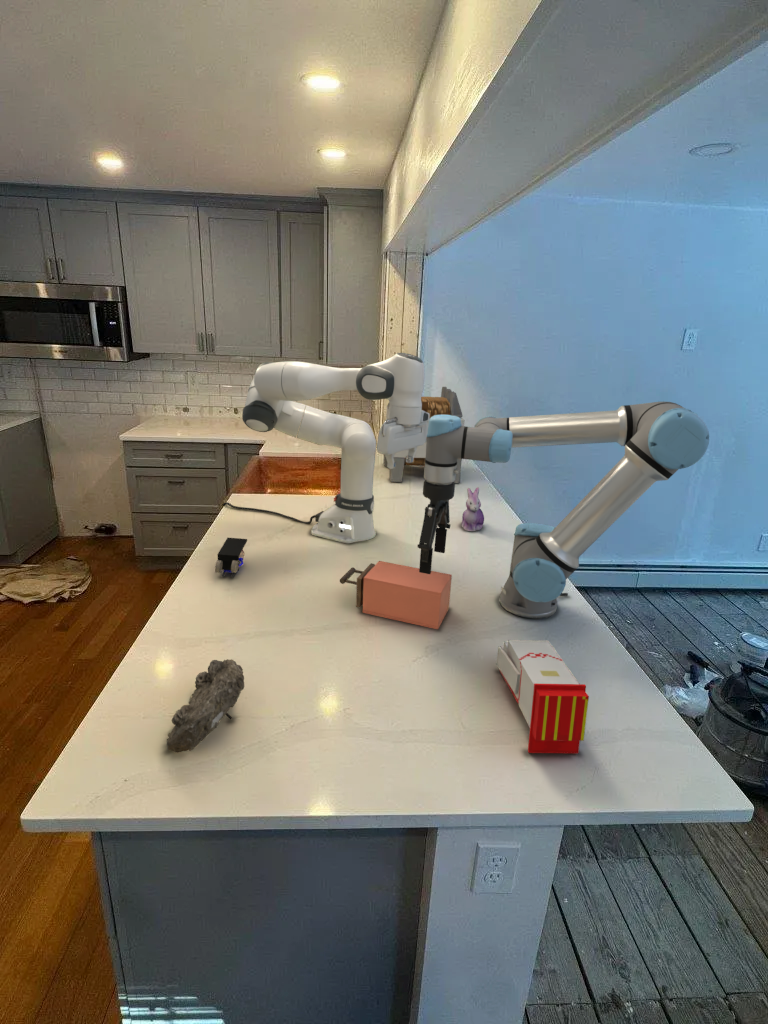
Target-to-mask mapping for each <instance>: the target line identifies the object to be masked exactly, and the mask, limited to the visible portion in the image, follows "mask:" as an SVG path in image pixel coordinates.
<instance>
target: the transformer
mask: <svg viewBox="0 0 768 1024" xmlns="http://www.w3.org/2000/svg"><path fill="white" fill-rule="evenodd" d="M440 393H441V394H440V396H421V402H422V410H423V411H425V412H427V413H429V414H430V417H429V419H430V418H431V417H432V416H434V415H452V416H457V417H459V418H460V419H461V424H462V425H461V426H465V419H464V418H463V411H462V408H461V405H460V402H459V398H458V395H457V392H455V391H453V390H452V389H451V388H447V386H442V387H441V392H440ZM385 414H386V415H385V420H386V419H388V414H389V402H388V404H387V405H386V413H385ZM427 423H428V424H429V420H428V421H427ZM427 432H428V429H427ZM426 442H427V437H426V441H425V443H424V445H422V446H418V447H417V451H416V453H415V455H414V460H413V462H411V463H407V462H406V456H407V455H408V452H409V449H407V450H404V451H400V452H397V453H395V456H394V457H393V458H394V462H396V465H395V468H393V469H389V475H388V476H389V477H388V478H389V480H390V482H391V483H402V482H403V475H404V469H405V466H406V467H407V466H411V467H412V466H413V467H415V466H416V467H417V466H418V467H425V459H426ZM462 461H463V459H459V458H458V459H457V467H456V469H457V470H458V471H459V472H458V473H457V474H456V478H455V481H454V483H455V484H459V483H461V472H462ZM383 466H384V467H387V460H386V457H385V454H383Z"/></svg>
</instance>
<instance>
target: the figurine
mask: <svg viewBox="0 0 768 1024" xmlns="http://www.w3.org/2000/svg"><path fill="white" fill-rule="evenodd" d="M466 491H467V493H466V494H467V499H466V501H465V507H466V509H465V510H464V511H463V513H462V516H461V517H462V518H461V519H462V520H461V527H462V528H463V530H464V531H469V532H475V531H480V530H481V529H482V528H484V523H485V515H484V512H483V510H482V509H481V507H482V502H481V499H480V497H479V494H480V488H479V487H478V486H477V487H476V488H475V489H474V490H473V491H472V490H471V488H469V487H468V488H467V489H466Z"/></svg>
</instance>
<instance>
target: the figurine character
mask: <svg viewBox="0 0 768 1024" xmlns="http://www.w3.org/2000/svg"><path fill="white" fill-rule="evenodd" d="M247 542H248V538H240V537H226V539H225V541H224V543H223V544H222V546H221V547H220V549H219V551H218V552H217V560H216V562H215V564H214V572H215V573H221V577H222V578H224V577H225V576H226V574H227V573H230V574H231V573H232V574H231V578H234V577H235V575H236V573H237V572H239V571H240V567H242V566H243V565H244V564H245V562H244V558H245V551H244V547H245V546H246V544H247Z"/></svg>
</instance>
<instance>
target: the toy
mask: <svg viewBox="0 0 768 1024" xmlns="http://www.w3.org/2000/svg"><path fill="white" fill-rule="evenodd" d="M502 646H503V647H502ZM502 646H501V645H498V648H497V654H496V661H495V665H496V666H497V668H498V670H499V672H500V674H501V676H502V678H503V680H504V681H505V683H506V685H507V687H508V689H509V691H510V692H511V694H512V696H513V697H514V699H515V701H516V703H517V704H518V707H519V709H520V711H521V713H522V715H523V718H524V720H525V722H526V723H527V726H528V728H529V734H528V744H527V745H528V746H527V752H528V754H579V751H580V744H581V743H580V742H583V741H584V740H585V730H586V724H587V715H588V707H589V698H590V696H589V694H588V693H587V692H586V690H587V684H581V683H580V682H579V681H578V679H577V678H576V676H574V674H573V673H572V671H571V670H570V668H569V667H568V666H567V664H566V663H565V662H564V660H563V659H562V657H561V656H560V655H559V653H558V652H557V651H556V649H555V647H554V645H552V644H551V642H550V641H549V640H533V639H532V640H528V639H526V640H525V639H508V640H507V641H503V645H502Z"/></svg>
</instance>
